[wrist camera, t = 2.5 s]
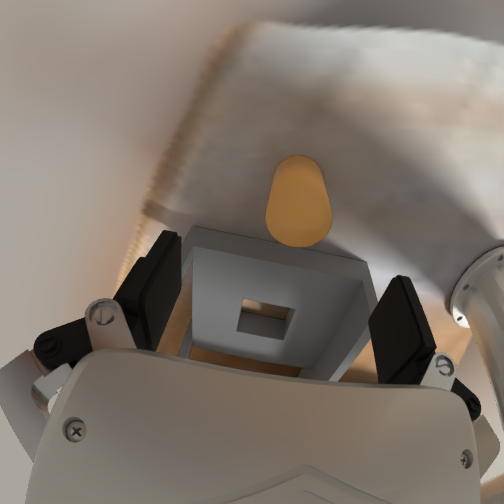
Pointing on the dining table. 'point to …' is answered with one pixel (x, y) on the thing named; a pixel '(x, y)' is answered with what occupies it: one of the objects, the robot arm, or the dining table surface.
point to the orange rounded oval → (298, 203)
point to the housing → (277, 303)
